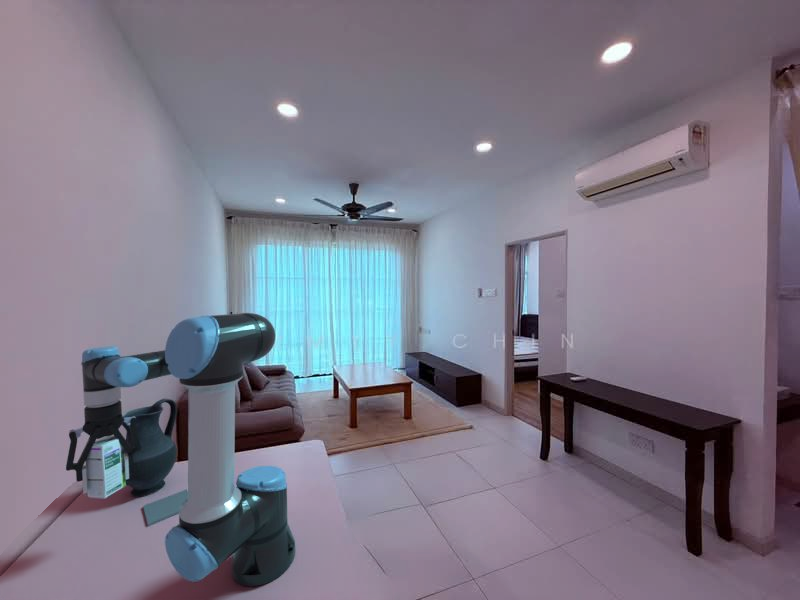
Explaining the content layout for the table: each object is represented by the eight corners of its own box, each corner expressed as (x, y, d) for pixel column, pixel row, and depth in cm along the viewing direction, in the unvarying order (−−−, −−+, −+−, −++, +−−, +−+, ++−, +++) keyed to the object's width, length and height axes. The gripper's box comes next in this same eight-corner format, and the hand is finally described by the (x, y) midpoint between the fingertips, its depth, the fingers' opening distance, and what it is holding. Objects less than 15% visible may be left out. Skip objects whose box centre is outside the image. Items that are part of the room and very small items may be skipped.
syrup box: (105, 499, 85) (102, 445, 84) (86, 497, 86) (84, 444, 85) (126, 486, 90) (124, 436, 90) (108, 485, 91) (106, 435, 91)
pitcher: (102, 501, 107) (98, 414, 106) (159, 468, 127) (156, 394, 126) (145, 506, 104) (141, 416, 103) (196, 471, 124) (193, 396, 123)
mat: (194, 506, 103) (194, 504, 103) (147, 526, 95) (147, 524, 95) (186, 490, 112) (186, 489, 112) (143, 507, 103) (143, 505, 103)
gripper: (148, 391, 98) (151, 464, 98) (48, 410, 83) (52, 495, 83) (152, 396, 92) (155, 473, 93) (46, 417, 78) (50, 508, 78)
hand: (106, 483), depth 88 cm, fingers closed on syrup box, 8 cm apart
